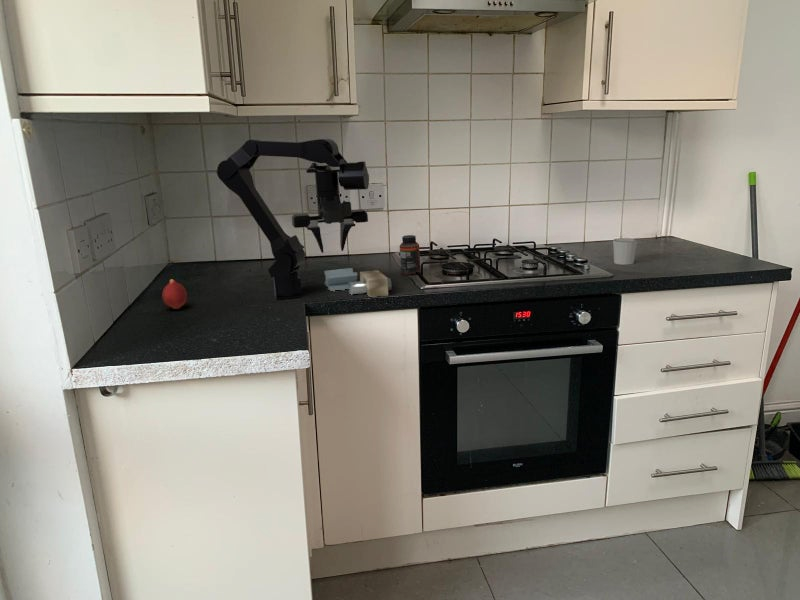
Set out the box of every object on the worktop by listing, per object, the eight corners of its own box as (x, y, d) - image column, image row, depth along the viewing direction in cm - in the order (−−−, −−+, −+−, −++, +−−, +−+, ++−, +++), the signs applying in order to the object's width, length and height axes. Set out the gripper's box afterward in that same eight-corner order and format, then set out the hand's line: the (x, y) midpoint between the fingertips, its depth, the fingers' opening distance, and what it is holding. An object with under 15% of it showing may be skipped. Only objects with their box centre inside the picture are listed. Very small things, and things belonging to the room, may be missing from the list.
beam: (369, 297, 153) (368, 280, 151) (360, 288, 162) (359, 271, 161) (388, 295, 154) (387, 278, 153) (378, 286, 164) (377, 270, 162)
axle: (351, 295, 155) (350, 282, 154) (349, 295, 158) (347, 282, 158) (392, 291, 158) (390, 278, 157) (388, 290, 161) (387, 277, 161)
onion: (175, 305, 153) (171, 275, 151) (193, 307, 151) (189, 276, 149) (159, 312, 148) (154, 281, 146) (177, 313, 146) (173, 282, 144)
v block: (330, 291, 160) (329, 276, 159) (324, 284, 169) (323, 269, 168) (358, 288, 162) (357, 273, 161) (352, 281, 171) (351, 266, 170)
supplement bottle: (416, 270, 182) (414, 233, 178) (423, 273, 176) (422, 236, 173) (397, 272, 180) (396, 235, 176) (405, 276, 174) (403, 238, 171)
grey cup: (613, 265, 176) (615, 241, 175) (610, 260, 183) (611, 238, 181) (638, 264, 175) (639, 241, 173) (633, 260, 182) (635, 237, 180)
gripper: (294, 195, 138) (299, 261, 142) (371, 190, 143) (374, 253, 147) (289, 192, 148) (294, 253, 153) (361, 187, 153) (364, 246, 157)
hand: (332, 251), depth 152 cm, fingers open, 5 cm apart
